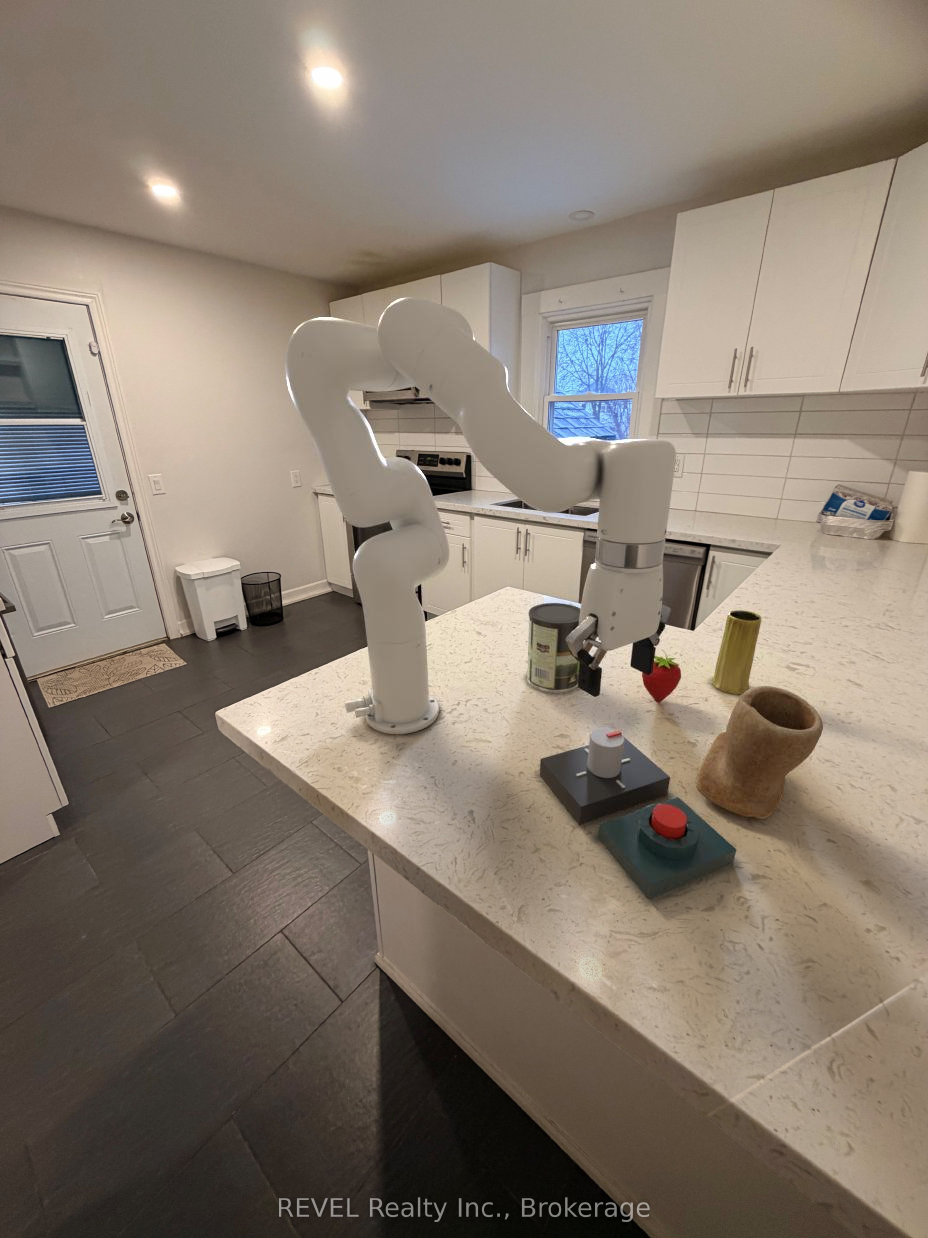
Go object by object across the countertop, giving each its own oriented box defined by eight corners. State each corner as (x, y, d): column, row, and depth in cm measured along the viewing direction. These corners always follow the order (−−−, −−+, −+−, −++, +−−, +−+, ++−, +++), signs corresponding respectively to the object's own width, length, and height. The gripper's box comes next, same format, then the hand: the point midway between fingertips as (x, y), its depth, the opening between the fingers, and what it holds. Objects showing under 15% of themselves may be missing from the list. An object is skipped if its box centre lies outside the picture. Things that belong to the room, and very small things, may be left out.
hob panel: (579, 825, 62) (580, 806, 61) (539, 775, 70) (540, 757, 69) (667, 795, 67) (670, 776, 65) (620, 751, 75) (622, 734, 74)
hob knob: (599, 781, 65) (603, 748, 63) (580, 761, 69) (583, 729, 66) (627, 773, 66) (631, 740, 64) (607, 753, 70) (610, 722, 68)
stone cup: (787, 844, 59) (820, 739, 53) (684, 798, 66) (703, 702, 60) (806, 776, 69) (836, 683, 64) (716, 743, 76) (735, 657, 71)
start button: (666, 843, 55) (668, 831, 54) (644, 820, 58) (646, 809, 57) (691, 833, 56) (694, 822, 55) (668, 811, 59) (670, 800, 58)
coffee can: (579, 669, 99) (585, 603, 94) (580, 696, 90) (586, 625, 85) (528, 665, 101) (530, 600, 96) (523, 691, 92) (526, 621, 87)
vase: (747, 681, 94) (763, 611, 88) (749, 697, 89) (766, 624, 83) (711, 675, 96) (725, 607, 91) (711, 690, 91) (725, 619, 85)
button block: (648, 900, 52) (653, 872, 51) (597, 837, 60) (600, 812, 59) (733, 863, 56) (740, 837, 55) (675, 809, 64) (680, 785, 63)
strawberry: (630, 702, 88) (637, 651, 84) (654, 688, 92) (661, 639, 88) (660, 716, 84) (669, 664, 80) (684, 701, 88) (693, 650, 84)
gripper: (651, 536, 65) (637, 653, 71) (550, 557, 56) (545, 688, 63) (703, 547, 59) (683, 674, 65) (600, 573, 50) (588, 715, 57)
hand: (615, 680), depth 64 cm, fingers open, 9 cm apart
